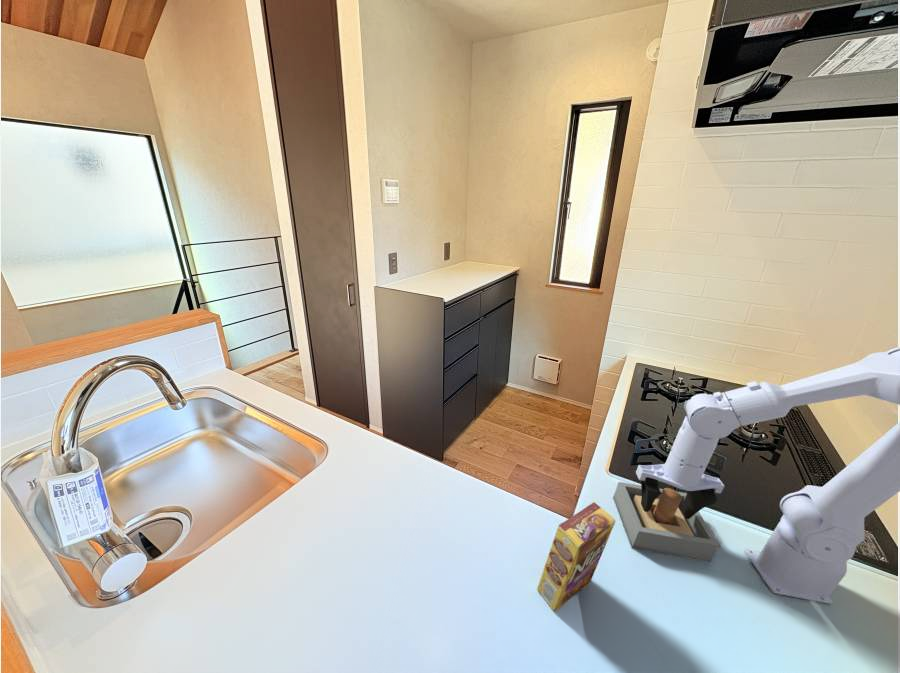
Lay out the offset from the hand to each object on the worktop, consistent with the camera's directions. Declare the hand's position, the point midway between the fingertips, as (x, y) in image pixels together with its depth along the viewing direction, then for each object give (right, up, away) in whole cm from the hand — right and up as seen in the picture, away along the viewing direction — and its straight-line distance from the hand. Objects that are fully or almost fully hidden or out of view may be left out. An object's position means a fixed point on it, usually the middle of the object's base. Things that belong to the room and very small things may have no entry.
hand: (664, 511), depth 69 cm
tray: (0, -4, +2) cm, 4 cm away
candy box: (-23, -7, -11) cm, 27 cm away
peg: (0, -3, +1) cm, 4 cm away
